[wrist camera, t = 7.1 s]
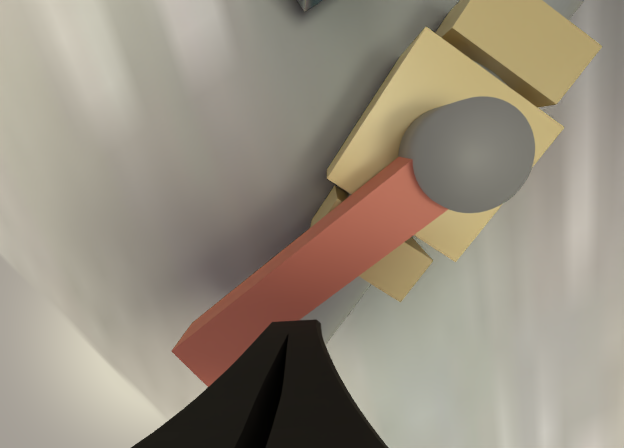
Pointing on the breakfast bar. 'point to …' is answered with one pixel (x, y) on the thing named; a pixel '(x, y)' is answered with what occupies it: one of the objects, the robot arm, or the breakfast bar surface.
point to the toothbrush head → (308, 3)
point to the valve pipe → (444, 90)
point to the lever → (372, 223)
